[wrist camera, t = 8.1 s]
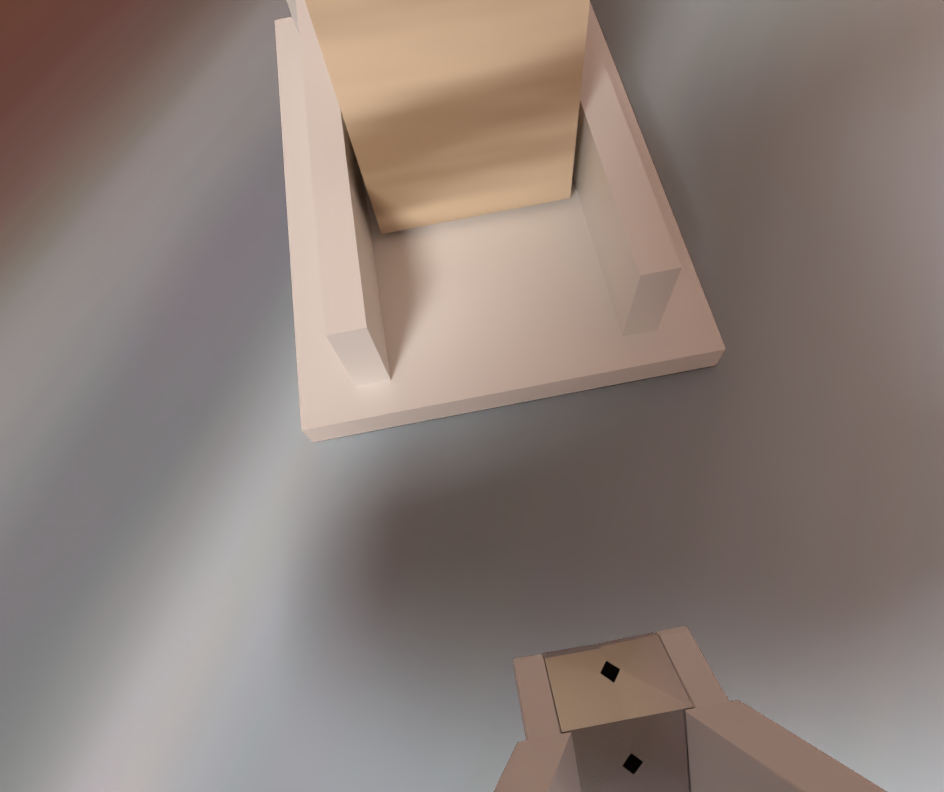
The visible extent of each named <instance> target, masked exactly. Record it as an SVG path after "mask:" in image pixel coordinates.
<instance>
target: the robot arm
mask: <svg viewBox="0 0 944 792" xmlns="http://www.w3.org/2000/svg"><path fill="white" fill-rule="evenodd" d="M514 671H515V677H516V683H517V689H518V695H519V701H520V707H521V712H522V718H523V724H524V730H525V736H526V741H521V742H517V744H516V746H515V748H514V751H513V753H512V755H511V757H510V759H509V761H508V763H507V765H506V767H505V769H504V771H503V773H502V775H501V777H500V779H499V781H498V784H497V786H496V788H495V790H494V792H887V791H885V790H884V789H882V788H880V787H879V786H877V785H875V784H874V783H872V782H871V781H869V780H867V779H866V778H864V777H862V776H861V775H859V774H858V773H856V772H854V771H853V770H851V769H849V768H848V767H846V766H845V765H843V764H841V763H840V762H838V761H837V760H835V759H833V758H832V757H830V756H828V755H827V754H825V753H824V752H822V751H820V750H819V749H817V748H815V747H814V746H812V745H811V744H809V743H807V742H806V741H804V740H802V739H801V738H799V737H798V736H796V735H794V734H793V733H791V732H789V731H788V730H786V729H785V728H783V727H781V726H780V725H778V724H777V723H775V722H773V721H772V720H770V719H768V718H767V717H765V716H764V715H762V714H760V713H759V712H757V711H755V710H754V709H752V708H751V707H749V706H747V705H746V704H744V703H742V702H741V701H739V700H736V701H730V702H729V700H728V698H727V696H726V695H725V693H724V691H723V689H722V688H721V686H720V684H719V682H718V680H717V679H716V677H715V675H714V673H713V672H712V670H711V668H710V666H709V665H708V663H707V661H706V659H705V658H704V656H703V654H702V652H701V650H700V649H699V647H698V645H697V643H696V642H695V640H694V638H693V636H692V635H691V633H690V631H689V629H687V628H686V627H685V626H681V627H676V628H671V629H666V630H661V631H656V632H655V633H654V632H652V633H647V634H642V635H637V636H632V637H627V638H622V639H617V640H612V641H607V642H603V643H598V644H594V645H588V646H581V647H575V648H569V649H563V650H557V651H551V652H545V653H543V656H542V654H538V655H531V656H525V657H518V658H514Z"/></svg>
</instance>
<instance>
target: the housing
mask: <svg viewBox="0 0 944 792" xmlns="http://www.w3.org/2000/svg"><path fill="white" fill-rule="evenodd" d="M286 1H287V4H288V6H289V9H290V12H291V15H292V17H289V18H284V19H278V20H275V32H276V47H277V63H278V78H279V93H280V109H281V124H282V139H283V154H284V170H285V185H286V200H287V216H288V231H289V246H290V262H291V277H292V292H293V308H294V323H295V338H296V354H297V369H298V384H299V399H300V415H301V430H302V431H303V432H304V434H305V435H306V436H307V437H308V438H309V439H310V440H311V441H312V442H317V441H322V440H327V439H333V438H338V437H343V436H348V435H354V434H359V433H364V432H369V431H375V430H380V429H385V428H390V427H395V426H401V425H406V424H411V423H416V422H422V421H427V420H432V419H437V418H443V417H448V416H453V415H458V414H463V413H469V412H474V411H479V410H484V409H490V408H495V407H500V406H505V405H511V404H516V403H521V402H526V401H531V400H537V399H542V398H547V397H552V396H558V395H563V394H568V393H573V392H578V391H584V390H589V389H594V388H599V387H605V386H610V385H615V384H620V383H626V382H631V381H636V380H641V379H646V378H652V377H657V376H662V375H667V374H673V373H678V372H683V371H688V370H694V369H699V368H704V367H709V366H714V365H716V364H717V363H718V361H719V359H720V358H721V356H722V355H723V353H724V352H725V350H726V348H725V345H724V343H723V340H722V338H721V335H720V333H719V330H718V328H717V325H716V322H715V320H714V317H713V315H712V312H711V310H710V307H709V304H708V302H707V299H706V297H705V294H704V292H703V289H702V287H701V284H700V281H699V279H698V276H697V274H696V271H695V269H694V266H693V264H692V261H691V258H690V256H689V253H688V251H687V248H686V246H685V243H684V241H683V238H682V235H681V233H680V230H679V228H678V225H677V223H676V220H675V217H674V215H673V212H672V210H671V207H670V205H669V202H668V200H667V197H666V194H665V192H664V189H663V187H662V184H661V182H660V179H659V177H658V174H657V171H656V169H655V166H654V164H653V161H652V159H651V156H650V153H649V151H648V148H647V146H646V143H645V141H644V138H643V136H642V133H641V130H640V128H639V125H638V123H637V120H636V118H635V115H634V113H633V110H632V107H631V105H630V102H629V100H628V97H627V95H626V92H625V90H624V87H623V84H622V82H621V79H620V77H619V74H618V72H617V69H616V66H615V64H614V61H613V59H612V56H611V54H610V51H609V49H608V46H607V43H606V41H605V38H604V36H603V33H602V31H601V28H600V26H599V23H598V20H597V18H596V15H595V13H594V10H593V8H592V5H591V2H590V4H589V14H588V25H587V35H586V45H585V55H584V65H583V75H582V85H581V95H580V105H579V115H578V125H577V135H576V145H575V155H574V165H573V175H572V185H571V195H570V198H568V199H563V200H558V201H552V202H547V203H542V204H537V205H531V206H526V207H521V208H516V209H510V210H505V211H500V212H495V213H490V214H484V215H479V216H474V217H469V218H463V219H458V220H453V221H448V222H442V223H437V224H432V225H427V226H421V227H416V228H411V229H406V230H400V231H395V232H390V233H385V234H381V231H380V228H379V225H378V222H377V219H376V216H375V213H374V210H373V207H372V204H371V201H370V198H369V195H368V192H367V189H366V186H365V183H364V180H363V176H362V173H361V170H360V167H359V164H358V161H357V158H356V155H355V152H354V149H353V146H352V143H351V140H350V137H349V134H348V131H347V128H346V125H345V121H344V118H343V115H342V112H341V109H340V106H339V103H338V100H337V97H336V94H335V91H334V88H333V85H332V82H331V79H330V76H329V73H328V70H327V67H326V63H325V60H324V57H323V54H322V51H321V48H320V45H319V42H318V39H317V36H316V33H315V30H314V27H313V24H312V21H311V18H310V15H309V12H308V9H307V5H306V2H305V0H286Z"/></svg>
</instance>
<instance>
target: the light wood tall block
mask: <svg viewBox="0 0 944 792" xmlns="http://www.w3.org/2000/svg"><path fill="white" fill-rule="evenodd" d="M305 2H306V5H307V9H308V12H309V15H310V18H311V21H312V24H313V27H314V30H315V33H316V36H317V39H318V42H319V45H320V48H321V51H322V54H323V57H324V60H325V63H326V67H327V70H328V73H329V76H330V79H331V82H332V85H333V88H334V91H335V94H336V97H337V100H338V103H339V106H340V109H341V112H342V115H343V118H344V121H345V125H346V128H347V131H348V134H349V137H350V140H351V143H352V146H353V149H354V152H355V155H356V158H357V161H358V164H359V167H360V170H361V173H362V176H363V180H364V183H365V186H366V189H367V192H368V195H369V198H370V201H371V204H372V207H373V210H374V213H375V216H376V219H377V222H378V225H379V228H380V231H381V234H385V233H390V232H395V231H400V230H406V229H411V228H416V227H421V226H427V225H432V224H437V223H442V222H448V221H453V220H458V219H463V218H469V217H474V216H479V215H484V214H490V213H495V212H500V211H505V210H510V209H516V208H521V207H526V206H531V205H537V204H542V203H547V202H552V201H558V200H563V199H568V198H570V195H571V185H572V175H573V165H574V155H575V145H576V135H577V125H578V115H579V105H580V95H581V85H582V75H583V65H584V55H585V45H586V35H587V25H588V14H589V4H590V0H305Z"/></svg>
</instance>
